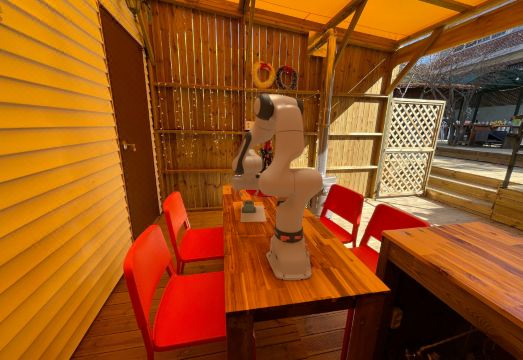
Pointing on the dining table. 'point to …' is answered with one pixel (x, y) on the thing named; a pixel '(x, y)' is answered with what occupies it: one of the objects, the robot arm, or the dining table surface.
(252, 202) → the collar
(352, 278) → the dining table surface
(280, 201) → the ammunition clip
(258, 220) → the post board
